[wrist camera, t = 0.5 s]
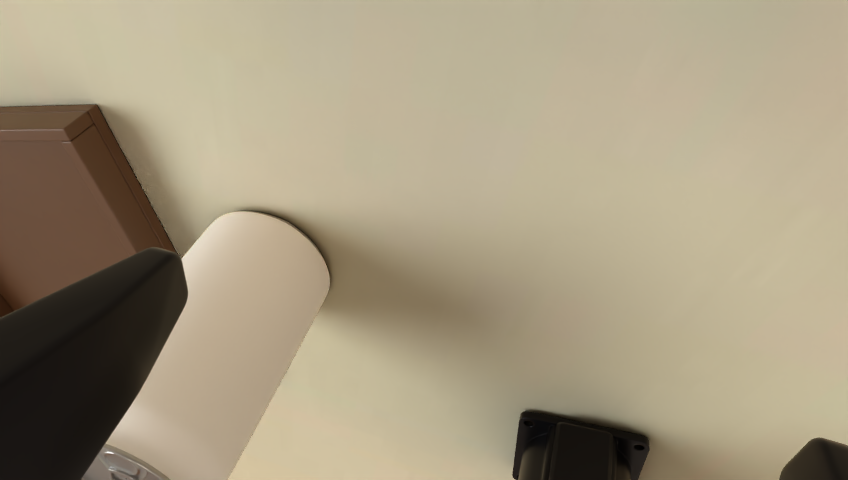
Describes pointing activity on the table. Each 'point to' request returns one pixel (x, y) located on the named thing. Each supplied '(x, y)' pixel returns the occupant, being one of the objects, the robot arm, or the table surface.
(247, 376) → the can
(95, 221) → the tray
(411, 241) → the table surface
